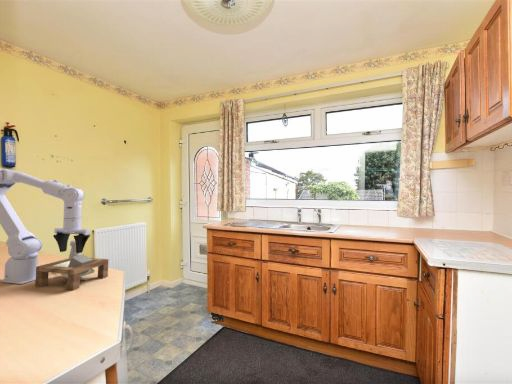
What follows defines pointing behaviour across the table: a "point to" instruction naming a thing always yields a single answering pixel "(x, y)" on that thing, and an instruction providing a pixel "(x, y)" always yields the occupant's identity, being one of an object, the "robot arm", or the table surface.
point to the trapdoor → (68, 265)
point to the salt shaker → (73, 249)
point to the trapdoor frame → (70, 272)
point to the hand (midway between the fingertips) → (71, 252)
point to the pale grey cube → (79, 261)
